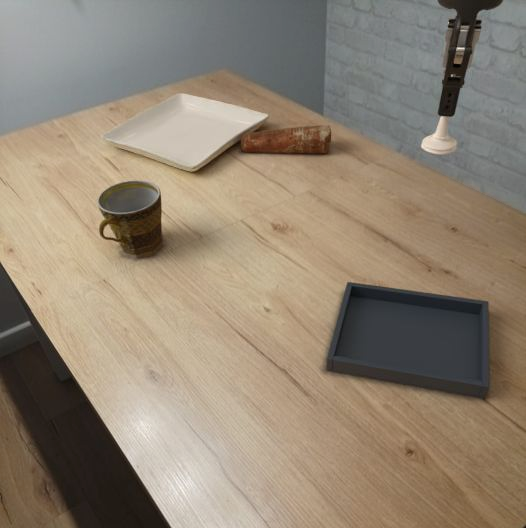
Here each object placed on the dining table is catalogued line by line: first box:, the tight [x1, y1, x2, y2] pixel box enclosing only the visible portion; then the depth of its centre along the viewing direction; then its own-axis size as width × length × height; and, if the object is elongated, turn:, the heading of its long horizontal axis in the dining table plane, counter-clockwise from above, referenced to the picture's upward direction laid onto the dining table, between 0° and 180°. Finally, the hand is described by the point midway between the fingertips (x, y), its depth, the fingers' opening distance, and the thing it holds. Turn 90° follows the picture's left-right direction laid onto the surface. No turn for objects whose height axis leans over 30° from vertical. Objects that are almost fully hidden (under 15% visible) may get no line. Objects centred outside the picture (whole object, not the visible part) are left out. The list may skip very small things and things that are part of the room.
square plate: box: [99, 92, 270, 172], centre depth 114 cm, size 27×27×4 cm
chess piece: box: [420, 74, 460, 155], centre depth 71 cm, size 5×5×10 cm
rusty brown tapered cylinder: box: [240, 124, 332, 155], centre depth 108 cm, size 6×19×6 cm, turn 82°
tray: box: [325, 281, 490, 400], centre depth 69 cm, size 20×16×3 cm
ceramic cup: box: [96, 179, 163, 260], centre depth 84 cm, size 13×10×10 cm
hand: (446, 110), depth 71 cm, fingers closed on chess piece
